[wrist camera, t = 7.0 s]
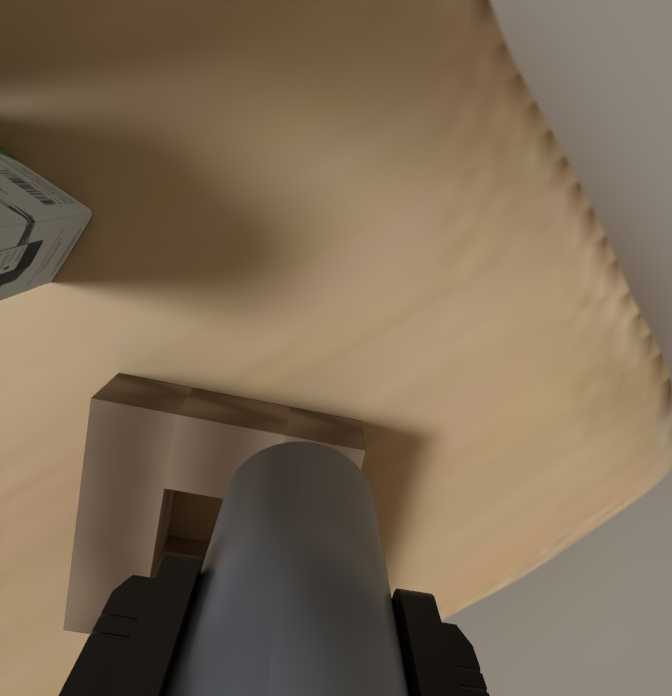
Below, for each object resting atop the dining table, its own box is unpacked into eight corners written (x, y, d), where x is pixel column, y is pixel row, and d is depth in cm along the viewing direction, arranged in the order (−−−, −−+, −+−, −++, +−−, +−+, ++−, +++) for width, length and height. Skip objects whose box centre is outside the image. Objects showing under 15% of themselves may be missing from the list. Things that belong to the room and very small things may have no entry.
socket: (91, 582, 36) (63, 629, 32) (118, 373, 32) (91, 397, 28) (310, 618, 37) (310, 668, 33) (360, 420, 33) (366, 450, 30)
